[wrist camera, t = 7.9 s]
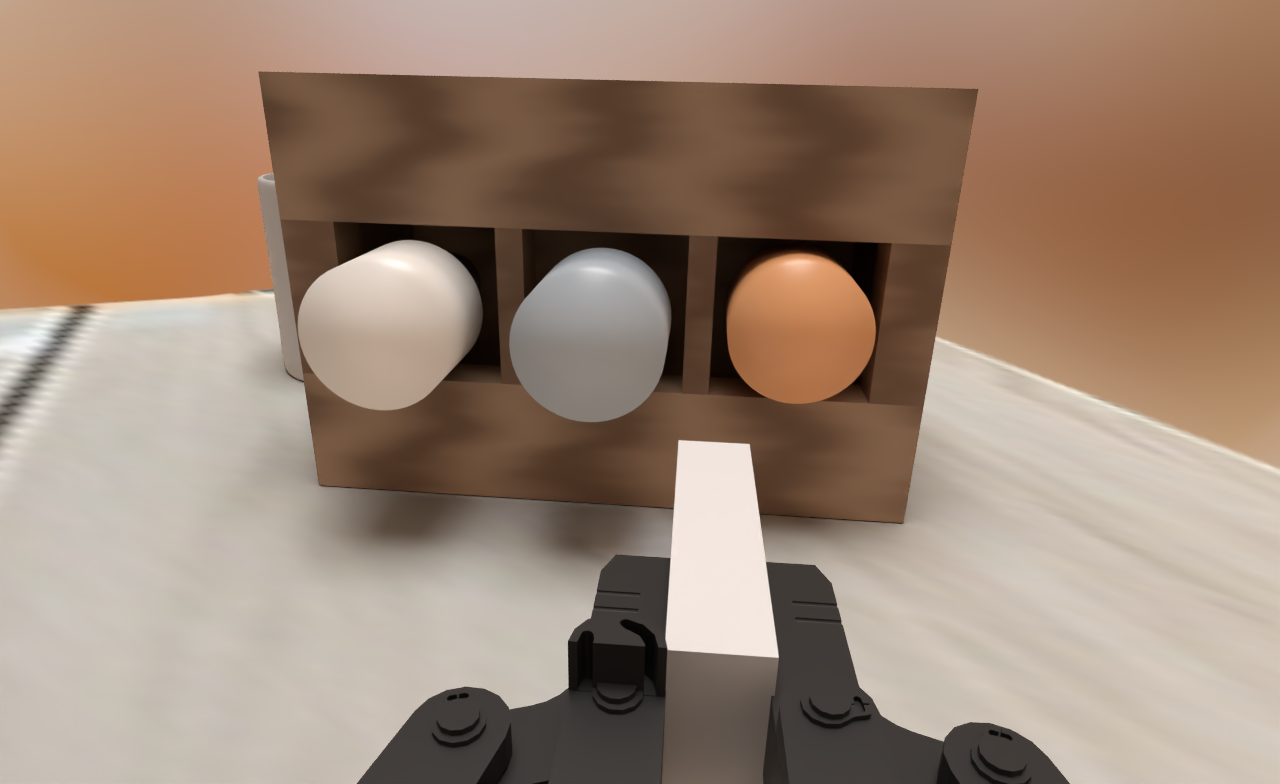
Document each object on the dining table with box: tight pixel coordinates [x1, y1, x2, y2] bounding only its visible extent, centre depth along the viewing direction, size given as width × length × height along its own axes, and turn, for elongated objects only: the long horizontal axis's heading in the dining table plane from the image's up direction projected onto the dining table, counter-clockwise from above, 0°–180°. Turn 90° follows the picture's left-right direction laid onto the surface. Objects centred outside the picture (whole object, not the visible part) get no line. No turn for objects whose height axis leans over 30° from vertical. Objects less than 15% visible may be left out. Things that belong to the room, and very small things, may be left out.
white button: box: [298, 240, 483, 410], centre depth 29 cm, size 5×8×5 cm, turn 175°
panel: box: [259, 72, 978, 523], centre depth 33 cm, size 24×10×16 cm, turn 85°
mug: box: [258, 173, 304, 381], centre depth 46 cm, size 12×8×11 cm
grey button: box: [509, 248, 672, 422], centre depth 28 cm, size 5×8×5 cm, turn 175°
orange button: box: [726, 242, 876, 404], centre depth 30 cm, size 5×8×5 cm, turn 175°
